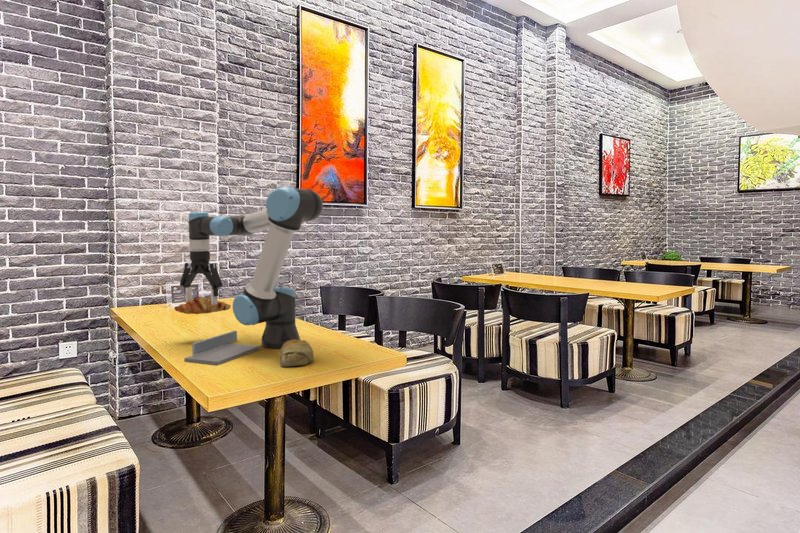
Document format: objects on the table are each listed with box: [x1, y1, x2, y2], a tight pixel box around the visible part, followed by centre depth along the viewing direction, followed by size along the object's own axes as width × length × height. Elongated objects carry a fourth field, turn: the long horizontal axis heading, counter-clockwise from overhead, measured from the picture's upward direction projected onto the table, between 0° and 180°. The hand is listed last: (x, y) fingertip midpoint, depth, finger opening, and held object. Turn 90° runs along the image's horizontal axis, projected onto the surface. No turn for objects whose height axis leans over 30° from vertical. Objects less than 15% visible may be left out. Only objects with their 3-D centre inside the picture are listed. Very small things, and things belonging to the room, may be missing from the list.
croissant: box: [174, 296, 232, 315], centre depth 200 cm, size 21×10×8 cm, turn 114°
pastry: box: [279, 339, 314, 368], centre depth 171 cm, size 14×12×8 cm
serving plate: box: [183, 342, 261, 366], centre depth 181 cm, size 14×24×1 cm, turn 161°
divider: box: [191, 330, 238, 355], centre depth 193 cm, size 1×24×4 cm, turn 161°
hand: (201, 303), depth 200 cm, fingers closed on croissant, 12 cm apart
